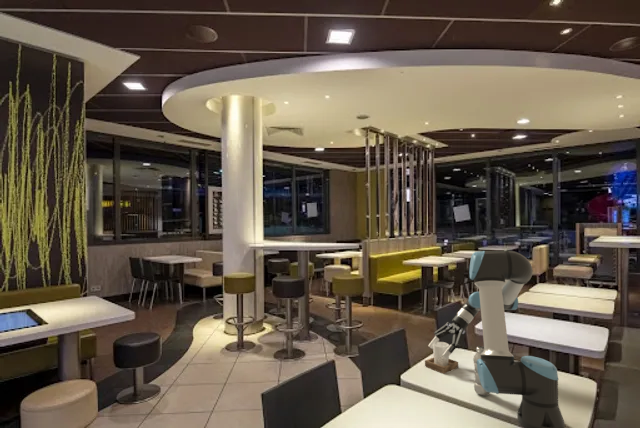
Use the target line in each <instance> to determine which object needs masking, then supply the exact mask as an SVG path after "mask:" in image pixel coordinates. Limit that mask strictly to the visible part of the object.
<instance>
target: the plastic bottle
mask: <svg viewBox="0 0 640 428" xmlns="http://www.w3.org/2000/svg"><path fill="white" fill-rule="evenodd" d="M475 350H476V353H475V354H474V356H473V359H472V360H473V364H474V374H475V376H474V385H473V387H474V391H475V393H476V394H478V395H479V396H484V397H485V396H489V395H490V394H491V393H490V392H486V391H485V390H484V389H483V387H482V385H481V382H480V379H479V375H478V369H477V360H478V359H481V353H482V352H483V351H484V345H482V346H481V345H478V346H476V349H475Z"/></svg>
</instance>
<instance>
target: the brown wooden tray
mask: <svg viewBox="0 0 640 428" xmlns="http://www.w3.org/2000/svg"><path fill="white" fill-rule="evenodd" d="M425 366H426V368H428V369H430V368H431V370H433V371H435V370H436V371H435V372H438V373H441V374H443V375H445V374H447V373H450V372H452V371H454V370H457V369H459V361H457V360H453V359H451V358H449V360H448V365H447V366H444V367H442V366H440V365H437V364H435V363H434V357H431V358H429V359H426V360H424V367H425Z"/></svg>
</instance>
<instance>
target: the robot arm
mask: <svg viewBox="0 0 640 428" xmlns="http://www.w3.org/2000/svg"><path fill="white" fill-rule="evenodd" d="M533 272H534V271H533V266H532V263H531V262H530V260H529V259H528V258H527V257H526V256H525V255H523V254H522V253H519V252H516V251H512V250H506V251H501V250H498V251H496V250H494V251H493V250H482V251H475V252H472V254H471V257H470V263H469V279H470V280H471V281H473V283H474V285H475V286H476V287H477V288H478V291H474V292H472V293H471V294H470V295H469V296H468V298H467V300H466V301H465V303H464V304H463V306H461V308H460V309H459V311H457V312H456V315H455V316H454V317H453V318H452V320H451V323H450V322H449V321H447V322H446V323H445V324H444V325H443V326H441V327H439V329H437V330H436V331H434V332H433V334H434V337H433V338H432V340H431V341H430V342H429V344H428V345H427V346H428V347H429V348H430V349H431V350H433V343H434V342H440V339H441V338H443V337H445V336H447V335H452V341H451V342H452V343H451V344H449V347H448V348H447V350H446V351H445V352H444V354H443V356H444V357H445V358H448V357H449V358H450V355H451V354H453V353H454V351H455V350H456V349H458V350H459V349H461V346H462V344H463V341H464V338H465V335H466V333H467V332H466V329H467V327H468V326H469V324H471V322H472V321H473V320H474V318H475V317H476V316H477V314H478V313H479V312H480V316H481V317H480V318H481V327H482V339H483V347H484V351H483V352H482V353H481V359H478V360H477V369H478V375H479V379H480V382H481V385H482V387H483V389H484V390H485V391H486V392H490V394H497V395H502V394H504V395H516V396H517V395H518V396H521V401H520V404H519V407H518V409H517V421H518V423H519V424H520V425H521V426H522V427H524V428H565V427H566V424H565V423H566V422H565V419H564V417H563V415H562V411H561V409H560V407H559V375H558V368H557V367H556V366H555V364H554V363H552V362H551V361H548V360H546V359H544V358H541V357H536V356H533V355H524V356H521V358H520V360H519V361H517V360H515V357H514V355H513V353H512V352H510V349H509V341H508V331H507V323H506V315H505V311H513V310H514V311H516V310H517V309H518V308H519V298H518V295H519V294H520V292H521V290H522V289H523V286H524V285H525V284H528V282H530V280H531V278H532V276H533Z"/></svg>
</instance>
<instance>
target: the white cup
mask: <svg viewBox="0 0 640 428" xmlns="http://www.w3.org/2000/svg"><path fill="white" fill-rule="evenodd" d="M449 346H450V344H449V343H447V342H444V341H438V342H434V343H433V349H432V350H433V352H432V353H433V358H434V363H435V364H437V365H440V366H442V367H444V366H447V365H448V360H449V359H450V356H449V357H448V358H445V357H444V356H443V354H444V352H445V351H446V350H447V348H448V347H449Z"/></svg>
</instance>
